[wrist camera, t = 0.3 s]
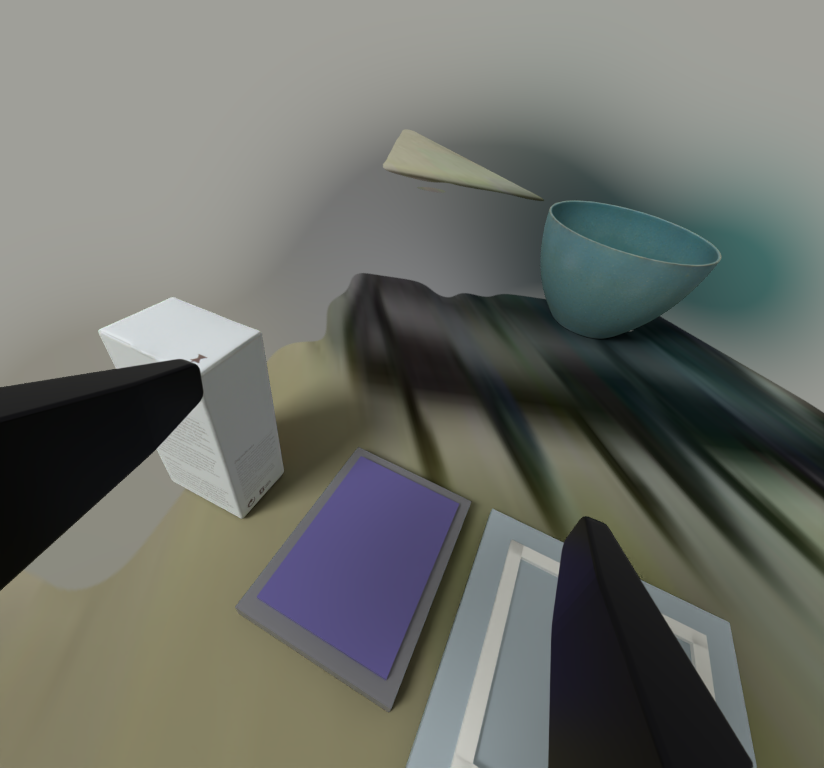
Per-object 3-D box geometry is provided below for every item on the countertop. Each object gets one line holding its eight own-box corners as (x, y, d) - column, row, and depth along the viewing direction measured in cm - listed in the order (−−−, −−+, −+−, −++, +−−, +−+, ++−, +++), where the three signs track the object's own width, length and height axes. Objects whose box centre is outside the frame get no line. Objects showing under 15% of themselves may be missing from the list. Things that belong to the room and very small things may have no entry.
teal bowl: (683, 372, 43) (763, 274, 35) (534, 355, 42) (582, 248, 33) (618, 296, 57) (665, 212, 49) (503, 281, 55) (532, 192, 47)
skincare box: (286, 471, 26) (266, 331, 18) (242, 522, 23) (195, 379, 15) (218, 437, 28) (172, 292, 20) (168, 481, 24) (90, 329, 17)
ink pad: (388, 712, 17) (391, 708, 17) (238, 613, 20) (234, 605, 19) (468, 509, 26) (472, 499, 25) (357, 455, 28) (358, 444, 27)
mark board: (806, 1105, 12) (831, 1121, 11) (392, 805, 15) (394, 806, 15) (722, 625, 23) (733, 621, 22) (490, 513, 26) (493, 506, 25)
